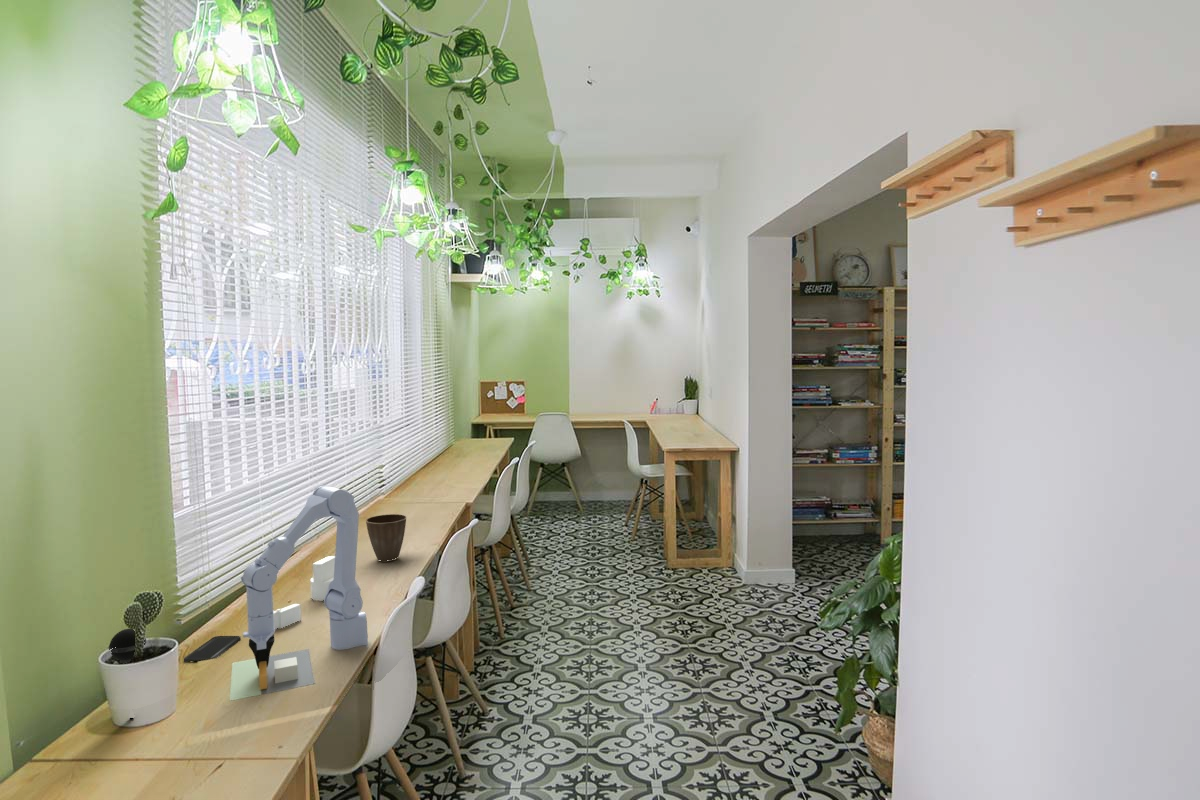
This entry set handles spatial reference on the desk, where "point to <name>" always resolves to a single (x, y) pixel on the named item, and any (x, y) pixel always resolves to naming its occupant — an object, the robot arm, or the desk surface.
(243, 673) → the green and grey board
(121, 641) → the black bowler hat
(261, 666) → the bar
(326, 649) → the desk surface
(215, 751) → the desk surface
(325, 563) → the cylinder with rectangular tab
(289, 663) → the plug block
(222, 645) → the phone
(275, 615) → the napkin holder
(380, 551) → the plant pot
